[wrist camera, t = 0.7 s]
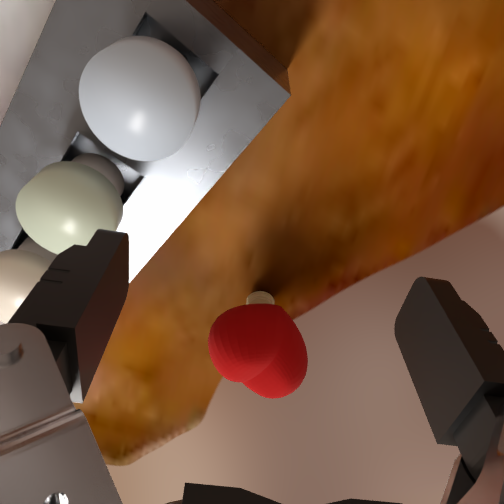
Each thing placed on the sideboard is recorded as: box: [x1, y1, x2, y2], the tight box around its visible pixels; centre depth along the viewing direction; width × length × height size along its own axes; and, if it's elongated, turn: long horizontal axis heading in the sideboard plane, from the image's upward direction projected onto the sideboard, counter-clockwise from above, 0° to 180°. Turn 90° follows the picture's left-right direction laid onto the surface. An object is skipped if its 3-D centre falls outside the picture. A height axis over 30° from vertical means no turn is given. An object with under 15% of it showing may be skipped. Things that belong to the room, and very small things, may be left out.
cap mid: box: [16, 153, 124, 254], centre depth 24 cm, size 5×5×5 cm
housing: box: [0, 0, 291, 283], centre depth 28 cm, size 24×12×6 cm, turn 141°
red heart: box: [208, 291, 308, 398], centre depth 36 cm, size 9×7×10 cm
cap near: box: [79, 36, 201, 161], centre depth 20 cm, size 5×5×5 cm
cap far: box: [0, 236, 58, 323], centre depth 28 cm, size 5×5×5 cm
